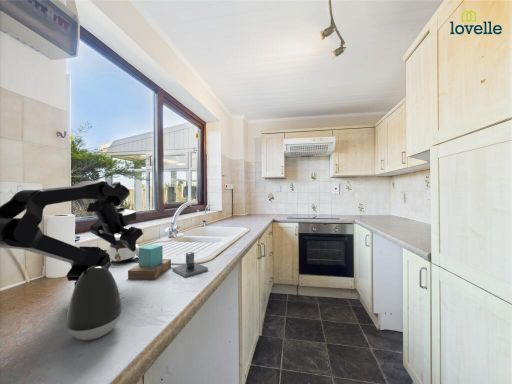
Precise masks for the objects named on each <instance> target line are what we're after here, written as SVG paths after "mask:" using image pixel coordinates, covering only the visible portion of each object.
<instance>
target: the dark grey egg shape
mask: <svg viewBox="0 0 512 384" xmlns="http://www.w3.org/2000/svg"><path fill="white" fill-rule="evenodd" d="M111 266H112V264H111V262H110V263H107V264H106V265H105V266H100V265H96V266H92V267H89V268H88V269H86V270H85V271H84V272H83V273H82V274H81V276H80V277H79V279H78V281H77V283H76V285H75V286H74V288H73V290H72V293H71V297H70V300H69V302H70V303H69V302H68V304H69V305H68V308H67V314H66V323H65V324H66V328H67V329H68V330H69V332H70V335H72V336H73V337H74V338H75V339H77V340H80V341H92V340H96V339H98V338H102V337H103V336H106V335H107V334H108V333H109V332H111V330H113V329H114V327H116V325H117V323H118V321H119V319H120V317H121V314H122V311H123V307H122V300H121V294H120V291H119V287H118V285H117V282H116V280H115V278H114V276H113V274H112V272H110V267H111ZM108 269H109V270H108Z"/></svg>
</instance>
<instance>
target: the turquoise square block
mask: <svg viewBox="0 0 512 384" xmlns="http://www.w3.org/2000/svg"><path fill="white" fill-rule="evenodd" d="M139 247H140V246H139ZM163 247H164V246H163V245H161V244H160V245H159V244H148V245H144V246H141V247H140V248H139V258H138V264H139V266H143V267H150V268H152V267H154V266H156V265H159V264H161V263H163V259H164V258H163V249H164V248H163Z"/></svg>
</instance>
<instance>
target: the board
mask: <svg viewBox="0 0 512 384" xmlns="http://www.w3.org/2000/svg"><path fill="white" fill-rule="evenodd" d="M171 267H172V259H170V258H167V259H166V258H163V263H161V264H159V265H156V266H154V267H152V268H150V267H143V266H139V263H137V265H135V266H133V267H132V268H129V269H128V270H127V278H128V279H132V280H136V279H137V280H155V279H157V278H158V277H159V276H161V275H162V274H164V273H165V272H166V271H167V270H168V269H169V268H171ZM128 279H127V280H128Z"/></svg>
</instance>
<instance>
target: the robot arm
mask: <svg viewBox="0 0 512 384" xmlns="http://www.w3.org/2000/svg"><path fill="white" fill-rule="evenodd" d="M130 194H131V192H130V189H128V187H126V186H125V185H123V184H122V183H121V182H120V181H114V182H113V183H112V184H111V185H110V184H109V183H108V182H107V181H106V180H83V181H81V182H77V183H75V184H74V185H71V186H62V187H61V186H60V187H52V188H41V189H23V190H20V191H17V192H16V193H15V194H14V195H13V196H12V197H11V198H10V199H9V200H8V201H6V202H5V203H4V204H2V205H0V249H1V248H2V249H13V250H23V251H28V252H32V253H34V254H37V255H42V256H45V257H48V258H51V259H55V260H59V261H61V262H65V263H69V264H70V265H71V268H70V269H69V270H68V272H67V273H66V275H65V276H66V278H67V281H68V282H73V283H74V285H73V286H74V287H75V285H76V283H77V281H78V279H79V277H80V276H81V274H82V273H83V272H84V271H85V270H86V269H88V268H89V267H92V266H96V265H100V266H105V265H106V264H107V263H111V259H110V253H108V250H107V249H103V248H101V247H99V246H79V247H78V246H76V245H73V244H71V243H69V242H64V241H62V240H59V239H57V238H54V237H52V236H49V235H47V234H44V233H43V232H42V229H41V228H40V227H39V225H40V224H41V223H42V221H43V215H44V214H43V213H44V209H45V207H46V206H50V205H56V204H61V203H67V202H72V201H78V200H95V201H94V202H89V203H88V207H87V208H86V212H87V213H94V214H95V215H96V217H97V218H98V219H97V220H96V221H95V222H94V223H93V224H91V225H90V226H89V231H90V233H91V234H92V235H95V236H97V238H100V239H101V240H104V241H105V242H108V243H109V244H112V245H114V246H115V245H116V244H117V242H116V239H115V236H116V235H121V236H120V241H121V242H122V244H123V245H124V246H126V247H127V248H128V249H129V250H131V251H132V252H134V251H135V250H136V244H137V240H139V238H141V237H142V236H143V235H144V231H143V229H142V228H139V227H136V226H130V227H128V228H126V227H127V226H128V225H129V223H131V222H133V221H136V220H137V211H136V210H134V209H129V208H128V209H127V208H124V207H123V206H120V205H122V203H123V202H124V201H125V200H126V199H127V198H128V197H129V196H130ZM24 211H25V213H24V214H23V215H22V216H21V217H18V215H20V214H21V213H23V212H24ZM108 270H109V271H110V268H109V269H108ZM69 303H70V301H69V302H68V304H69Z"/></svg>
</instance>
